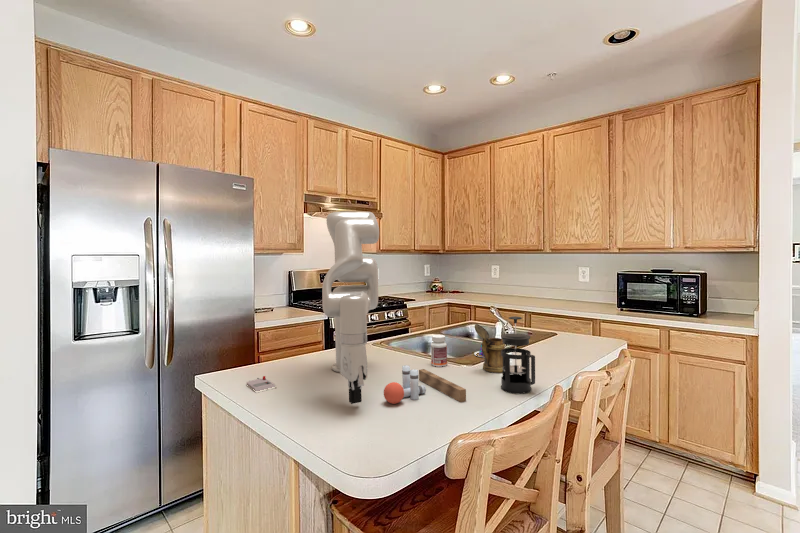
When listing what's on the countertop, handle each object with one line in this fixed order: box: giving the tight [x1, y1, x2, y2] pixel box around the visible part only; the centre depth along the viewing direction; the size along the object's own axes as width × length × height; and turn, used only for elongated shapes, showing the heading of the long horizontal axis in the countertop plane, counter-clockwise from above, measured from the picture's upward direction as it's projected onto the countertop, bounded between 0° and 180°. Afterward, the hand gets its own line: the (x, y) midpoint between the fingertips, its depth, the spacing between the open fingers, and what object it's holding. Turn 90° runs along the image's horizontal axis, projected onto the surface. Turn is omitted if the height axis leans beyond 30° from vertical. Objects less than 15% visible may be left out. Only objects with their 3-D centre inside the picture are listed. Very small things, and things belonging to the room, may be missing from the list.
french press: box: [500, 315, 536, 395], centre depth 128 cm, size 12×9×23 cm
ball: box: [383, 381, 405, 405], centre depth 119 cm, size 6×6×6 cm
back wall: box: [418, 368, 467, 403], centre depth 129 cm, size 24×2×4 cm, turn 27°
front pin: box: [403, 384, 427, 398], centre depth 125 cm, size 2×2×8 cm
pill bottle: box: [430, 334, 448, 368], centre depth 157 cm, size 6×6×11 cm
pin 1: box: [401, 364, 411, 389], centre depth 126 cm, size 2×2×8 cm
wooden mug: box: [474, 323, 506, 374], centre depth 149 cm, size 9×14×18 cm, turn 121°
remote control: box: [246, 375, 276, 392], centre depth 137 cm, size 7×16×3 cm, turn 38°
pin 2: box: [410, 368, 420, 401], centre depth 122 cm, size 2×2×8 cm
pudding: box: [473, 343, 484, 358], centre depth 171 cm, size 12×12×5 cm
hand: (355, 402), depth 116 cm, fingers closed
